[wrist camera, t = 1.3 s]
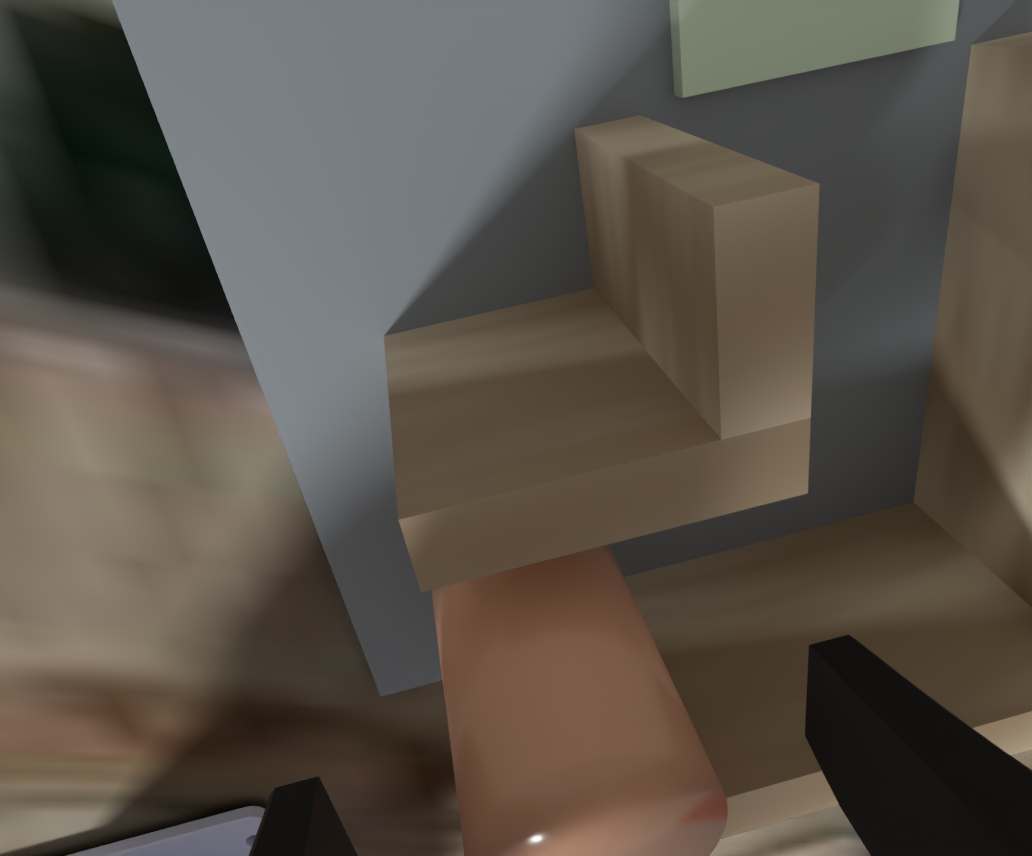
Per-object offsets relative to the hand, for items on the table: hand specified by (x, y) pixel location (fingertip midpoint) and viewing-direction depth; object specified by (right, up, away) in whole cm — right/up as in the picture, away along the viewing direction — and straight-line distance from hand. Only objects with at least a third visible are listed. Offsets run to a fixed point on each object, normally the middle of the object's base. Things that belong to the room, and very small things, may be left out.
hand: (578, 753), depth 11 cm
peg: (-1, +3, +6) cm, 7 cm away
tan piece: (+3, +6, +5) cm, 8 cm away
